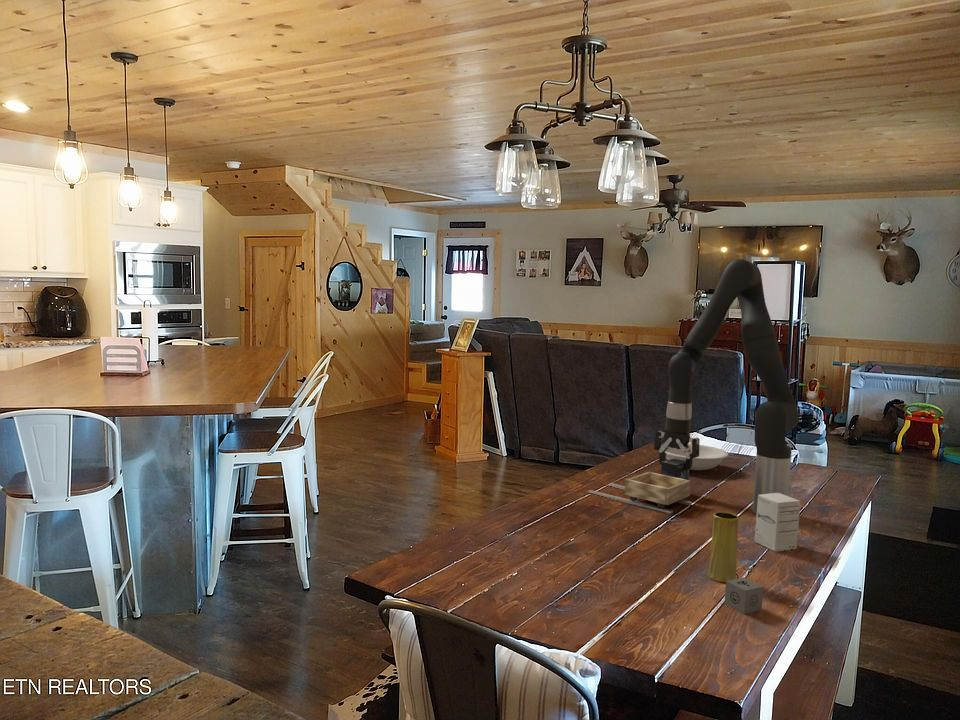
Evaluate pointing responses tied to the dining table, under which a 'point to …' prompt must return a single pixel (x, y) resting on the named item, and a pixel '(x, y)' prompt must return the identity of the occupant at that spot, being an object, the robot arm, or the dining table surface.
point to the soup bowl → (700, 456)
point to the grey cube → (743, 595)
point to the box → (675, 468)
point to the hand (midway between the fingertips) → (674, 467)
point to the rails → (636, 501)
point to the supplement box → (777, 521)
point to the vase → (723, 547)
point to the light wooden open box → (657, 488)
